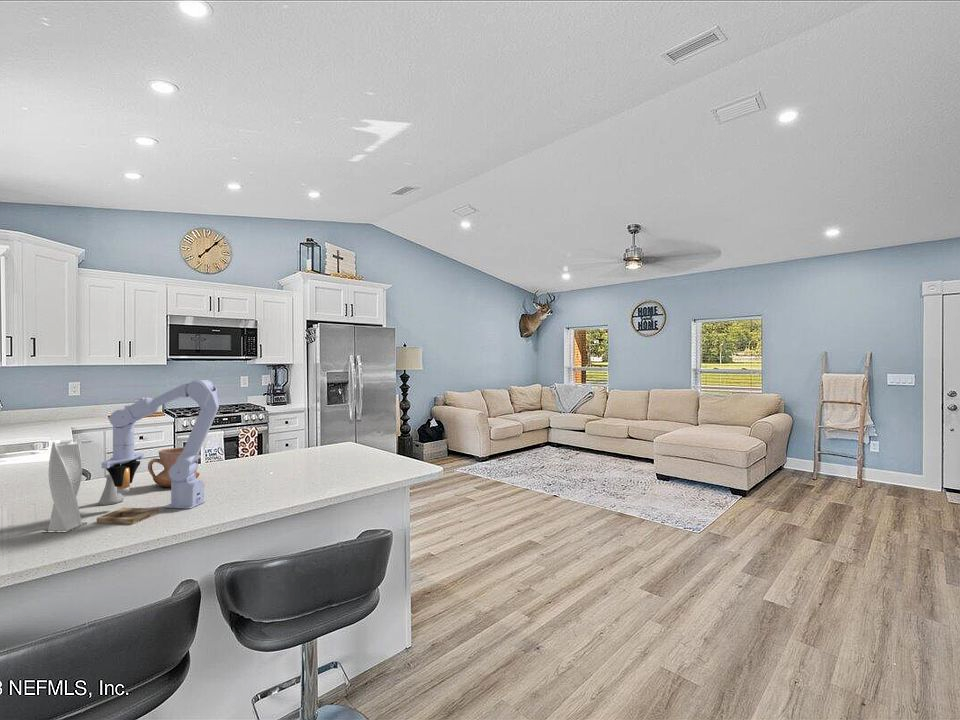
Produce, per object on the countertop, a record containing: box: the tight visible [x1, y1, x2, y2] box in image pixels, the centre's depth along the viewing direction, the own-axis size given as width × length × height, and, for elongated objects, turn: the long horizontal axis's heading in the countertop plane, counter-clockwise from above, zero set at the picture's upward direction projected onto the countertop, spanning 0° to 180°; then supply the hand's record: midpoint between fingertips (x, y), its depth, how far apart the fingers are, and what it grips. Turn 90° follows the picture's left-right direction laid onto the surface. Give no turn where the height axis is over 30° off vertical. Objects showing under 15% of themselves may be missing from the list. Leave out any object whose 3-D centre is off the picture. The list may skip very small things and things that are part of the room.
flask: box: [97, 473, 125, 506], centre depth 162 cm, size 7×7×10 cm
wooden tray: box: [96, 507, 159, 525], centre depth 147 cm, size 12×10×2 cm
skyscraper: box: [43, 434, 88, 533], centre depth 137 cm, size 8×8×28 cm
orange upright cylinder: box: [117, 467, 131, 494], centre depth 155 cm, size 3×3×8 cm
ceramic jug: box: [147, 446, 202, 488], centre depth 185 cm, size 18×14×14 cm
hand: (123, 484), depth 155 cm, fingers closed on orange upright cylinder, 3 cm apart
